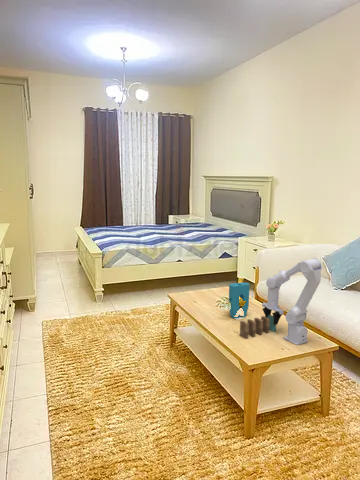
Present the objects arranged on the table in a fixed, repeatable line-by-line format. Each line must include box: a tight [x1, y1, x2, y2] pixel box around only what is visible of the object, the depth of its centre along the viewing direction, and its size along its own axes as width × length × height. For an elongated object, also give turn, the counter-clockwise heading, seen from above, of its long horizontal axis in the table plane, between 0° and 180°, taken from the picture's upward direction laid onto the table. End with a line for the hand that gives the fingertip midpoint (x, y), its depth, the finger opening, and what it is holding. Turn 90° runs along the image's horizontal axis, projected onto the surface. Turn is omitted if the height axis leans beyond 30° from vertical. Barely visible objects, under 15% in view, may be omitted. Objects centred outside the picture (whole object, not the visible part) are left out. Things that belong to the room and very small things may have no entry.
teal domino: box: [268, 314, 277, 333], centre depth 201 cm, size 5×2×8 cm, turn 30°
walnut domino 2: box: [246, 318, 257, 338], centre depth 194 cm, size 5×2×8 cm, turn 29°
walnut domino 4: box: [260, 315, 270, 335], centre depth 198 cm, size 5×2×8 cm, turn 29°
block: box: [228, 282, 251, 320], centre depth 220 cm, size 12×5×20 cm, turn 115°
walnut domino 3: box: [253, 317, 264, 336], centre depth 196 cm, size 5×2×8 cm, turn 29°
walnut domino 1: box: [239, 320, 249, 340], centre depth 191 cm, size 5×2×8 cm, turn 29°
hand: (271, 322), depth 201 cm, fingers open, 5 cm apart
